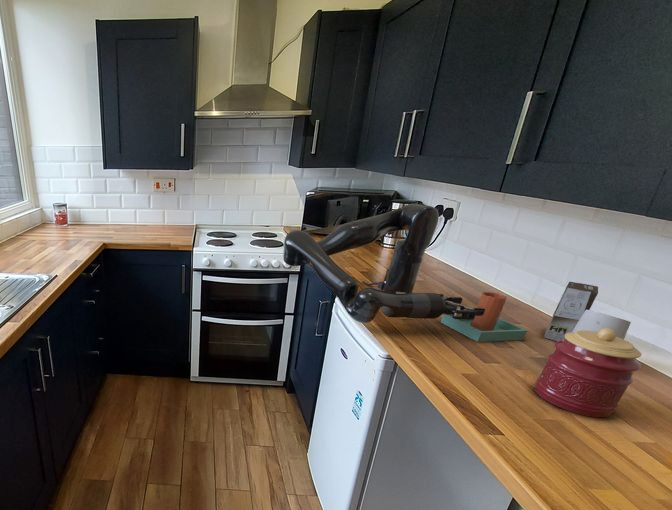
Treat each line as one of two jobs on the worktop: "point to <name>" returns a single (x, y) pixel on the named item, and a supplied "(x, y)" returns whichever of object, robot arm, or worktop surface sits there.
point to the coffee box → (570, 309)
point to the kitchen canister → (588, 372)
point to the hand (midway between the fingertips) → (471, 306)
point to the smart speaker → (602, 323)
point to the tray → (500, 332)
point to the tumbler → (489, 311)
